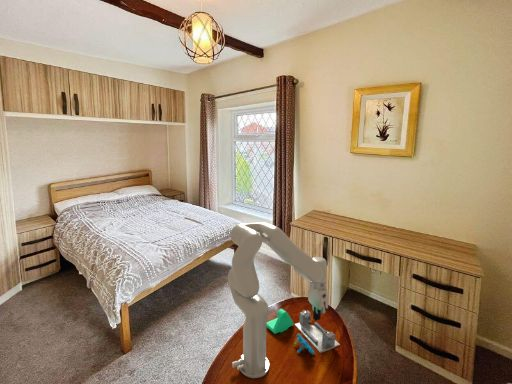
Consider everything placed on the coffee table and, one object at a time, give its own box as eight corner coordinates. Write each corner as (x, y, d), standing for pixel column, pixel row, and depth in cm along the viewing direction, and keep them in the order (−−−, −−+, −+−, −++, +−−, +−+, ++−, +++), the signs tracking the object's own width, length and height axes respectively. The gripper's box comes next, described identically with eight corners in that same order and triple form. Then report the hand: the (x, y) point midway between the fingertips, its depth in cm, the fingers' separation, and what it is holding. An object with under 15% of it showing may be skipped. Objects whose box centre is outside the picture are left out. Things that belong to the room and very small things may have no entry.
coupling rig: (320, 352, 117) (320, 338, 116) (294, 325, 136) (294, 312, 135) (339, 345, 121) (340, 331, 120) (312, 320, 140) (312, 307, 139)
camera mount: (283, 319, 141) (283, 301, 140) (293, 327, 135) (293, 308, 134) (265, 327, 134) (265, 308, 133) (274, 335, 128) (275, 316, 127)
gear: (319, 355, 114) (305, 343, 111) (310, 366, 113) (295, 354, 110) (307, 339, 124) (294, 327, 121) (298, 348, 124) (285, 337, 121)
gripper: (334, 288, 120) (333, 326, 122) (314, 275, 133) (313, 309, 136) (321, 292, 117) (320, 330, 119) (302, 278, 130) (301, 312, 133)
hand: (316, 319), depth 128 cm, fingers closed
